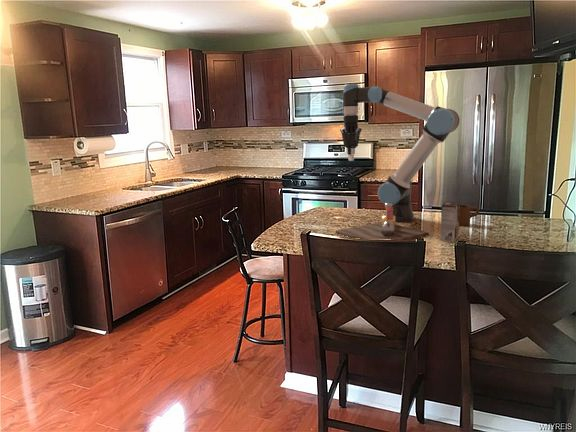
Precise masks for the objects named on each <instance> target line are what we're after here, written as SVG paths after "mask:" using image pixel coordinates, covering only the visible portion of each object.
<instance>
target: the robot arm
mask: <svg viewBox="0 0 576 432" xmlns="http://www.w3.org/2000/svg"><path fill="white" fill-rule="evenodd" d="M342 94H343V97H342V98H343V123H344V124H343V127H342V128H340V130H339V131H340V133H341V137H342V142H343V147H344V148H346V150H347V151H346V153H347V155H348V156H347V158H348V160H347V161H350V162H353V161H354V162H355V154H356V153H355V149H356V148H358V146H359V141H360V136H361V132H362V130H363V129H362V128H361V127H360V126H359V125H358V123H359V115H358V114H359V104H360V103H362V104H363V103H376V104H379V105H382V106H383V107H384V106H385V107H388V108H391V109H393V110H396V111H397V112H401V113H403V114H405V115H409V116H411V117H415V118H417V119H420V120H423V121H425V122H426V123H425V124H424V126H423V127H422V134H421V136H420V137H419V138H418V140H417V142H415V144H414V145H413V147H412V148H411V150H410V151H409V153H408V154H407V156H406V157H405V158H404V160H403V161H402V162H401V164H400V166H399V167H398V169H397V170H396V171H395V172H394V173H390V175H389V176H388V178H387V179H386V180H385V182H384V183H382V184H381V185H380V186H379V187H378V189H377V197H378V200H379V201H380V202H381V203H382V204H383V205H385V203H392V207H393V215H395V222H397V223H399V222H400V223H402V222H410V221H411V222H412V221H414V220H415V214H414V212H413V208H412V180H413V179H414V177H415V176H416V174H417V173H418V172H419V170H420V169H421V168H422V167H423V164H424V163H425V162H426V161H427V160H428V158H429V156H430V155H431V154H432V153H433V151H434V150H435V149H436V147H437V146H438V145H439V144H441V143H444V141H446V139H447V137H448V136H449V135H450V133H453V132H455V131H456V130H457V129H458V127H459V125H460V121H461V119H460V116H459V114H458V112H456V111H455V110H453V109H451V108H445V107H441V106H438V105H437V106H433V105H429V104H425V103H423V102H420V101H417V100H415V99H411V98H409V97H406V96H404V95H401V94H398V93H395V92H392V91H389V90H386V89H385V88H382V87H380V86H377V85H375V86H366V87H365V86H364V87H359V84H358V83H346V84H344V86H343V93H342Z"/></svg>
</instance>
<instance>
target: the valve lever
mask: <svg viewBox="0 0 576 432" xmlns="http://www.w3.org/2000/svg"><path fill="white" fill-rule="evenodd" d="M384 209H385V211H386V212H385V214H386V218H387V220H393V207H392V203H385V204H384Z"/></svg>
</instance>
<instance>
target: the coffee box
mask: <svg viewBox="0 0 576 432" xmlns="http://www.w3.org/2000/svg"><path fill="white" fill-rule="evenodd" d="M460 203H461V202H455V201H445V202H444V203H442V204H441V209H440V210H441V212H440V213H441V217H440V237H439V238H440V241H443V242H452V243H455V242H456V241H457V240H458V238H459V232H460V226H459V212H460V205H461V204H460Z"/></svg>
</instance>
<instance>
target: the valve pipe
mask: <svg viewBox="0 0 576 432" xmlns="http://www.w3.org/2000/svg"><path fill="white" fill-rule="evenodd" d="M381 222H382V224H381V232H382V234H383V235H384V236H393V235H394V233H395V225H396V221H395V215H393V220H387V218H386V213H385V214H382V215H381Z"/></svg>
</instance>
